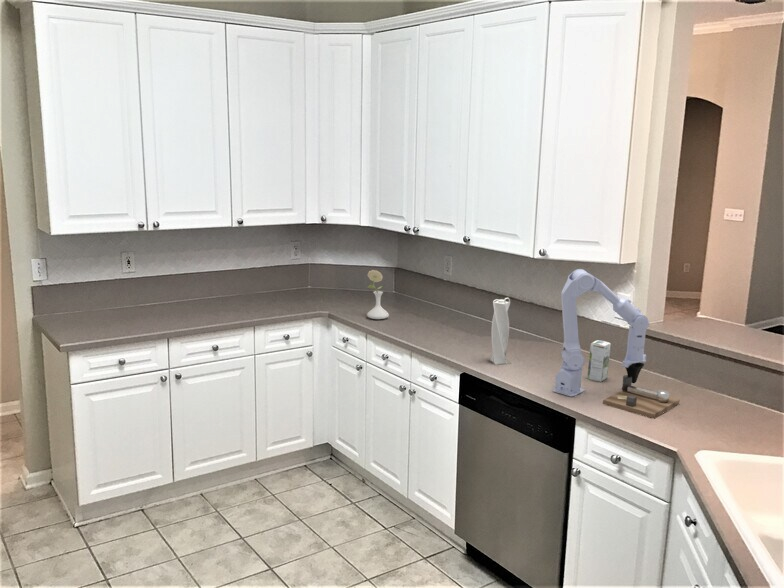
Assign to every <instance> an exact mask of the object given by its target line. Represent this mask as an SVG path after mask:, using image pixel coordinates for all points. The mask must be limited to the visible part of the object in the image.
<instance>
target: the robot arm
mask: <svg viewBox="0 0 784 588" xmlns="http://www.w3.org/2000/svg"><path fill="white" fill-rule="evenodd" d="M589 291H592V292H598V293H599V294H600V295H601V296H602V297H603V298H604V299H606V300H607V301H608V302H609V303H610V304H612V310H613V311H614V312H615V313H616V314H617V315H618V316H620V318H621V319H622V320H624V321H625V322H627V325H628V334H627V346H626V355H625V357H624V360H623V361H622V363H621V367H623V368H625V370H626V373H627V375H629V376H632V384H636V382H637V381H638V378H639V375H640V372H641V371H642V369H643V367H645V363H646V362H647V354H646V353H644V352H645V345H646V344H645V343H646V334H647V333H646V331H647V329H648V328H649V327H650V322H649V318H648V317H647V316H646V315H644V314H643V313H642V312H641V311H642V310H641V309H640V308H636V306H634V305H633V304H632V301H631V300H630V299H629V298H627V299H626V298H625V297H618V295H617V294H616V293H615V292H614V291H612V290H611V289H610V288H609V287H608V286H607V285H606V284H605V283H604V282H603V281H601V280H600V279H599V278H597V277H595V276H594V275H593V274H591V273H588V272H587V271H586V270H585V269H583V268H577V269H575V270H574V271H572V272H571V273H570V274H569V275H568V276H567V280H566V282H565V284H564V286H563V287H562V291H561V293H560V298H561V311H562V312H561V313H562V327H563V340H564V341H563V343H562V350H561V352H560V356H561V359H562V360H563V362H562V363H561V368H560V370H559V371H557V373H556V375H555V385H554V389H552V392H553V393H554V392H555V393H558V394H561V395H563V396H567V397H575V396H577V395H579V394H581V393H584V392H586V389H584V388H582V386H581V385H582V374H583V366H584V365H585V358H584V356H583V354H582V349H581V346H580V341H579V339H580V338H579V326H578V324H579V323H578V312H577V310H578V309H577V299H578V298H579V297H580V296H581V295H582V294H584V293H586V292H589Z"/></svg>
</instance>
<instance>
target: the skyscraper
mask: <svg viewBox="0 0 784 588" xmlns="http://www.w3.org/2000/svg"><path fill="white" fill-rule="evenodd" d="M506 300H508V301H506ZM492 305H493V311H494V312H493V316H492V320H491V333H490V334H491V335H490V336H491V349H492V354H491V357H490V358H489V361H490V362H491V361H492V362H491V363H492V364H494V365H495V364H498V365H512V363H511V362H510V361H509V360H507V347H508V342H509V336H510V335H509V334H510V319H509V313H508V311H509V308H510V305H511V299H510V298H509V297H504V299H498V298H496V299H494V300H493V301H492Z"/></svg>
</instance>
